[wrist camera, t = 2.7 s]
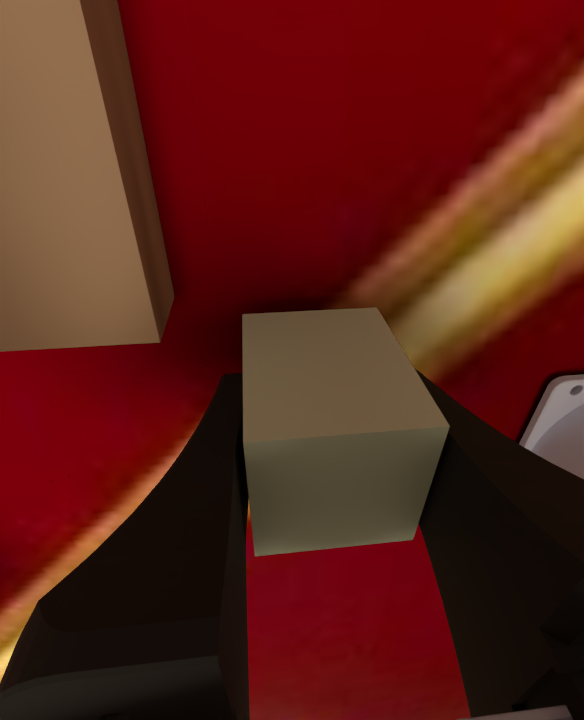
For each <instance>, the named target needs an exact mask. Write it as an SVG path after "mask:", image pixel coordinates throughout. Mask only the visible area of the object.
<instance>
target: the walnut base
mask: <svg viewBox="0 0 584 720" xmlns="http://www.w3.org/2000/svg"><path fill="white" fill-rule="evenodd" d="M173 300H174V291H173V286H172V281H171V276H170V271H169V265H168V260H167V255H166V250H165V245H164V240H163V234H162V229H161V224H160V219H159V214H158V209H157V203H156V198H155V193H154V188H153V183H152V178H151V172H150V167H149V162H148V157H147V152H146V147H145V141H144V136H143V131H142V126H141V121H140V116H139V110H138V105H137V100H136V95H135V90H134V85H133V79H132V74H131V69H130V64H129V59H128V54H127V48H126V43H125V38H124V33H123V28H122V23H121V17H120V12H119V7H118V2H117V0H0V351H18V350H35V349H53V348H71V347H88V346H106V345H123V344H141V343H159V342H160V341H161V338H162V335H163V332H164V328H165V325H166V322H167V319H168V316H169V312H170V309H171V306H172V303H173Z"/></svg>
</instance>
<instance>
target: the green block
mask: <svg viewBox="0 0 584 720" xmlns="http://www.w3.org/2000/svg"><path fill="white" fill-rule="evenodd" d="M242 347H243V446H244V456H245V465H246V475H247V485H248V494H249V504H250V514H251V523H252V533H253V543H254V552H255V556H263V555H272V554H282V553H291V552H301V551H310V550H320V549H329V548H339V547H348V546H358V545H367V544H377V543H386V542H396V541H405V540H413V538H414V535H415V532H416V529H417V526H418V523H419V520H420V517H421V513H422V510H423V507H424V504H425V501H426V498H427V495H428V492H429V489H430V486H431V483H432V480H433V477H434V473H435V470H436V467H437V464H438V461H439V458H440V455H441V452H442V449H443V446H444V443H445V440H446V436H447V433H448V430H449V427H450V426H449V424H448V422H447V421H446V419H445V418H444V416H443V414H442V413H441V411H440V409H439V408H438V406H437V405H436V403H435V401H434V400H433V398H432V396H431V395H430V393H429V391H428V390H427V388H426V387H425V385H424V383H423V382H422V380H421V378H420V377H419V375H418V374H417V372H416V370H415V369H414V367H413V365H412V364H411V362H410V361H409V359H408V357H407V356H406V354H405V352H404V351H403V349H402V347H401V346H400V344H399V343H398V341H397V339H396V338H395V336H394V334H393V333H392V331H391V330H390V328H389V326H388V325H387V323H386V321H385V320H384V318H383V316H382V315H381V313H380V312H379V310H378V308H377V307H373V308H353V309H333V310H314V311H294V312H274V313H255V314H242Z"/></svg>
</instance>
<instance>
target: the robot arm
mask: <svg viewBox="0 0 584 720" xmlns="http://www.w3.org/2000/svg"><path fill="white" fill-rule="evenodd" d="M414 369H415V368H414ZM415 370H416V369H415ZM416 372H417V374H418V375H419V377H420V378H421V380H422V382H423V383H424V385H425V387H426V388H427V390H428V391H429V393H430V395H431V396H432V398H433V400H434V401H435V403H436V405H437V406H438V408H439V409H440V411H441V413H442V414H443V416H444V418H445V419H446V421H447V422H448V424H449V426H450V427H449V430H448V433H447V436H446V440H445V443H444V446H443V449H442V452H441V455H440V458H439V461H438V464H437V467H436V470H435V473H434V477H433V480H432V483H431V486H430V489H429V492H428V495H427V498H426V501H425V504H424V507H423V510H422V513H421V517H420V520H419V526H420V528H421V531H422V534H423V537H424V541H425V544H426V547H427V550H428V553H429V557H430V560H431V563H432V566H433V570H434V573H435V577H436V580H437V584H438V587H439V590H440V594H441V597H442V601H443V605H444V608H445V612H446V616H447V620H448V623H449V627H450V631H451V635H452V638H453V642H454V646H455V650H456V654H457V659H458V663H459V667H460V671H461V675H462V679H463V684H464V688H465V692H466V696H467V701H468V706H469V710H470V715H471V718H466V719H459V720H584V375H569V376H561V377H557V378H555V379H553V380H552V381H551V382H550V383H549V385H548V386H547V388H546V390H545V392H544V394H543V396H542V398H541V400H540V402H539V404H538V406H537V408H536V410H535V412H534V414H533V417H532V419H531V421H530V423H529V425H528V427H527V429H526V431H525V433H524V435H523V437H522V439H521V441H520V443H519V444H518V443H516V442H514V441H513V440H511V439H510V438H508V437H506V436H505V435H503V434H502V433H500V432H499V431H497V430H496V429H494V428H493V427H491V426H490V425H488V424H487V423H485V422H484V421H483V420H481V419H480V418H478V417H477V416H475V415H474V414H473V413H471V412H470V411H468V410H467V409H466V408H464V407H463V406H462V405H460V404H459V403H458V402H456V401H455V400H454V399H453V398H451V397H450V396H449V395H447V394H446V393H445V392H444V391H442V390H441V389H440V388H439V387H437V386H436V385H435V384H434V383H432V382H431V381H430V380H429V379H427V378H426V377H425V376H424V375H422V374H421V373H420V372H419V371H417V370H416ZM248 501H249V494H248V485H247V475H246V465H245V456H244V446H243V373H235V374H224V375H223V376H222V377H221V379H220V382H219V385H218V387H217V390H216V392H215V394H214V396H213V399H212V401H211V403H210V405H209V407H208V409H207V410H206V412H205V414H204V416H203V418H202V420H201V421H200V423H199V425H198V427H197V428H196V430H195V432H194V433H193V435H192V436H191V438H190V440H189V441H188V443H187V444H186V446H185V447H184V449H183V450H182V452H181V453H180V455H179V456H178V458H177V459H176V461H175V462H174V463H173V465H172V466H171V467H170V469H169V470H168V471H167V473H166V474H165V475H164V477H163V478H162V479H161V480H160V482H159V483H158V484H157V485H156V486H155V488H154V489H153V490H152V491H151V492H150V494H149V495H148V496H147V497H146V498H145V499H144V501H143V502H142V503H141V504H140V505H139V506H138V507H137V509H136V510H135V511H134V512H133V513H132V514H131V515H130V516H129V517H128V518H127V519H126V520H125V521H124V522H123V523H122V524H121V525H120V526H119V527H118V528H117V529H116V530H115V531H114V532H113V533H112V534H111V535H110V536H109V537H108V538H107V539H106V540H105V541H104V542H103V543H102V544H101V545H100V546H99V547H98V548H97V549H96V550H95V551H94V552H93V553H92V554H91V555H90V556H89V557H88V558H87V559H86V560H84V561H83V562H82V563H81V564H80V565H79V566H78V567H77V568H75V569H74V570H73V571H72V572H71V573H70V574H69V575H67V576H66V577H65V578H64V579H63V580H62V581H61V582H59V583H58V584H57V585H56V586H55V587H54V588H53V589H52V590H50V591H49V592H48V593H47V594H46V595H45V596H43V597H42V598H41V599H40V600H39V601H38V603H37V605H36V607H35V609H34V610H33V612H32V614H31V616H30V618H29V620H28V622H27V624H26V625H25V627H24V629H23V631H22V633H21V635H20V637H19V639H18V641H17V644H16V646H15V648H14V651H13V653H12V656H11V658H10V661H9V663H8V666H7V668H6V671H5V673H4V675H3V678H2V680H1V683H0V720H250V717H249V680H248V639H247V590H246V528H247V514H248Z"/></svg>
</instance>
